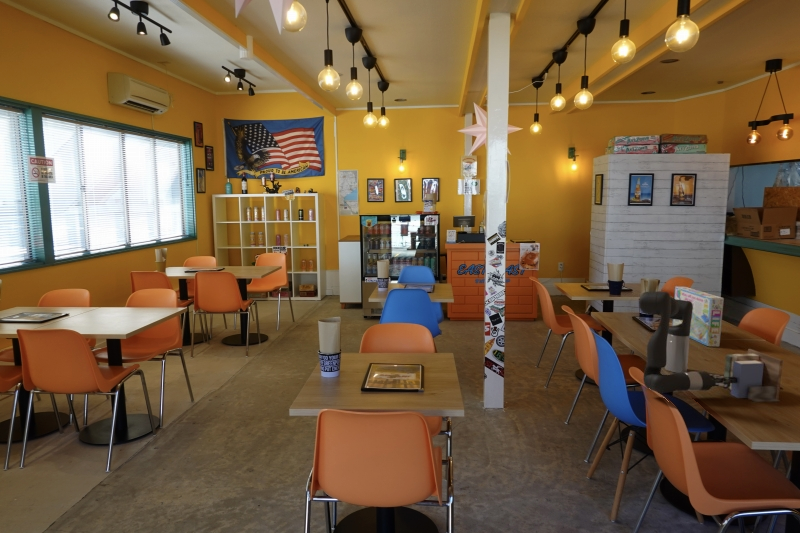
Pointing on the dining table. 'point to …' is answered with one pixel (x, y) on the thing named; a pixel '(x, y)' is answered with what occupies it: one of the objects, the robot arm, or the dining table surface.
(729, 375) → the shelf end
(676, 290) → the game box
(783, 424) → the dining table surface
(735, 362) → the boxed book
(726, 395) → the dining table surface
